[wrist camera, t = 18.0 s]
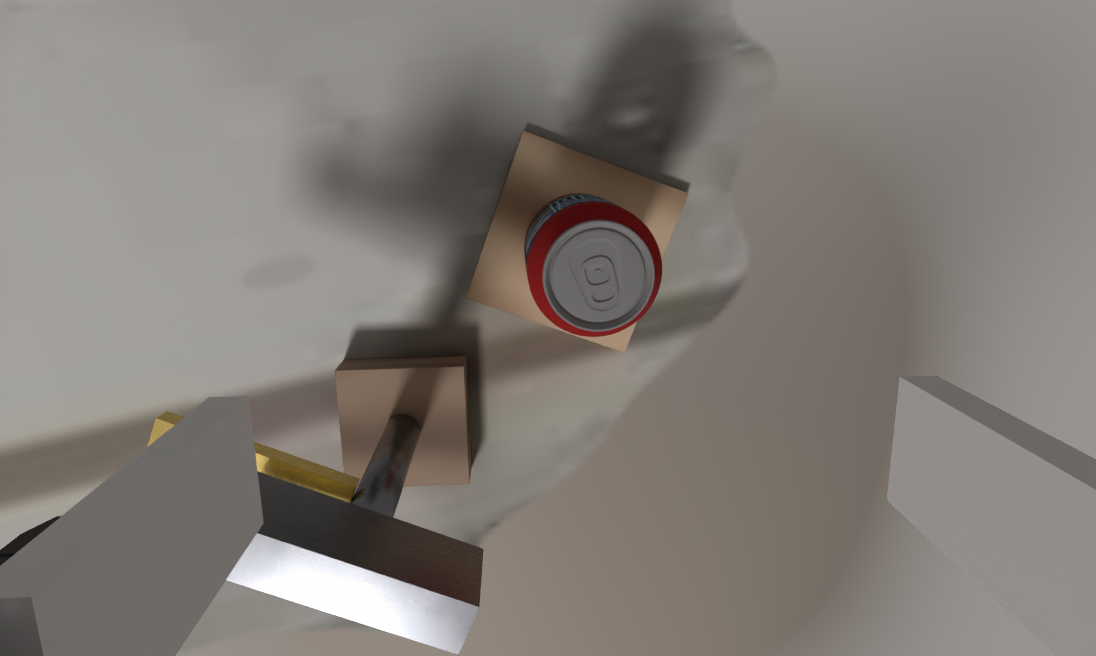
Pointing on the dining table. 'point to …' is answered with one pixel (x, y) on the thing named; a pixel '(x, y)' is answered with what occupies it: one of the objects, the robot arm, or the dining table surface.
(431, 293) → the dining table surface
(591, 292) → the beverage can
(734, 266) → the dining table surface
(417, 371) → the latch housing
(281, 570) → the t key
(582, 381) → the dining table surface
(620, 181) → the mat
